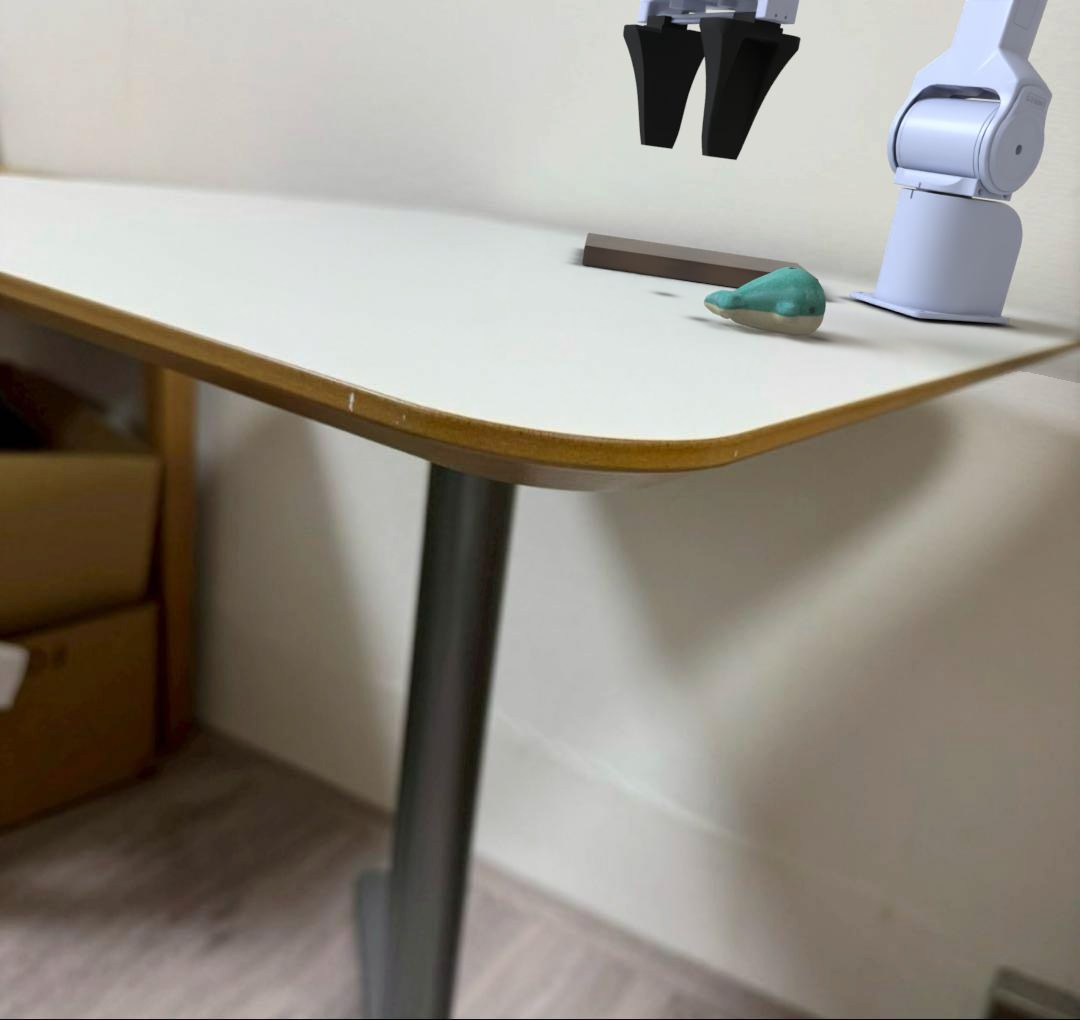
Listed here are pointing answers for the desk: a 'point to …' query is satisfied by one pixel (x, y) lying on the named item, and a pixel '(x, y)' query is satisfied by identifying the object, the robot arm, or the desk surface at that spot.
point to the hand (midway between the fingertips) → (686, 152)
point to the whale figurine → (774, 302)
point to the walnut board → (677, 261)
